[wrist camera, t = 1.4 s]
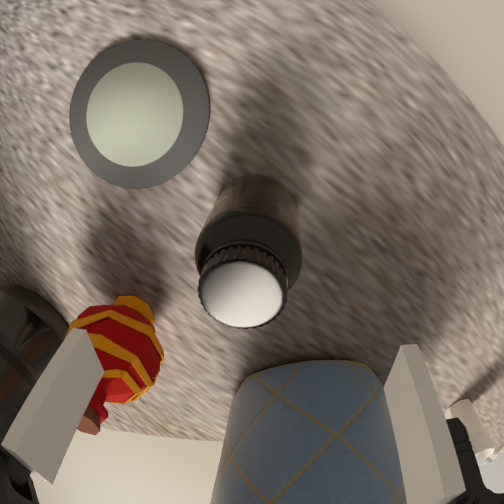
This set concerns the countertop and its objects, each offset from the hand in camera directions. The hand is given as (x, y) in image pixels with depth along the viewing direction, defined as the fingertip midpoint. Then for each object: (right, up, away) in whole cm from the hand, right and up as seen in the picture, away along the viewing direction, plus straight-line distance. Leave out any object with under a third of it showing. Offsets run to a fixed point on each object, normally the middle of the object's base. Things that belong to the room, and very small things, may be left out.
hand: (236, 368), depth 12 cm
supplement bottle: (+1, +8, +15) cm, 17 cm away
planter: (+8, -16, +27) cm, 33 cm away
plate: (-9, +16, +11) cm, 22 cm away
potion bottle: (-13, -2, +22) cm, 25 cm away
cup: (+35, -22, +28) cm, 50 cm away
